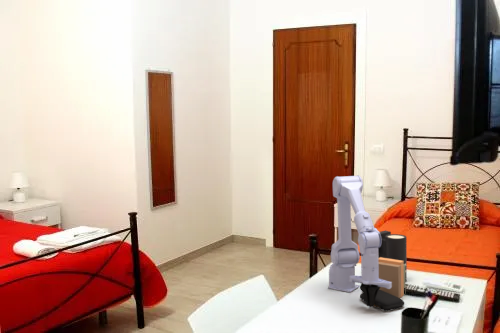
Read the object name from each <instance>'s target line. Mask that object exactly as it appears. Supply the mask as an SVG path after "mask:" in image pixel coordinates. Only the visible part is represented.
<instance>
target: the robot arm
mask: <svg viewBox="0 0 500 333" xmlns="http://www.w3.org/2000/svg"><path fill="white" fill-rule="evenodd" d="M363 189H364V182H363V178H362V176H360V175H359V174H357V175H348V176H345V175H344V176H338V175H337V176H335V177H334V178H333V180H332V196H333V197H334V198H336V202H337V229H338V239H337V241H335V242H334V243H332V245H331V252H330V260H331V265H330V266H329V269H328V289H330V290H331V289H332V290H337V291H341V292H346V293H352V292H353V291H355V290H356V289H358V288H359V290H360V291H361V294H362V293H363V295H364V297H365V300H366V302H365V304H366V306H367V307H370V308H372V307H374V303H375V298H376V295H377V293H378V291H379V289H380V287H384V288H387V289H390V288H392V282H389V281H386V280H383V279H379V256H378V248H380V247H381V243H382V239H381V235H380V231H379V230H378V228H376V227H375V226H374V223H373V220H372V217H371V215H370V214H371V213H369V212H367V211H366V209H365V205H364V200H363V197H362V193H363ZM351 207H352V209H353V210H351ZM351 211H353V212H354V217H353V221H354V224H355V227H356V230H357V233H358V236H357V243H358V244H357V243H356V242H355V241H353V240H352V213H351ZM359 262H361V263H360V264H361V266H360V269H361V271H360V273H361V275H356V272H355V271H356V268H355V267H356V266H357V264H359ZM356 283H357V284H356ZM359 284H360V285H359Z"/></svg>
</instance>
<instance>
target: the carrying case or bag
mask: <svg viewBox="0 0 500 333" xmlns="http://www.w3.org/2000/svg"><path fill="white" fill-rule="evenodd" d="M359 297H360V300H362V301H363V302H365V303H366V300H365V297H364V295H363V293H362V292H361V294H360V295H359ZM404 305H405V301H404V300H403V299H402V298H398V297H396V296H394V295H392V294H389V293H387V292H384V291H382V290H379V291H378V293H377V295H376V298H375V303H374V306H373V307H374V308H377V309H379V310H381V311H385V312H389V311H393V310H396V309H397V310H398V309H400V308H403V306H404Z"/></svg>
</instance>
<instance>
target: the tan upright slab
mask: <svg viewBox="0 0 500 333" xmlns="http://www.w3.org/2000/svg"><path fill="white" fill-rule="evenodd" d="M379 279H383V280H386V281H389V282H392V288H390V289H387V288H384V287H380V289H379V290H382V291H384V292H387V293H389V294H392V295H394V296H396V297H398V298H400V299H402V298H403V297H404V295H405V294H404V288H405V289H406V282H405V264H404V261H402V260H395V259H388V258H381V257H380V258H379Z"/></svg>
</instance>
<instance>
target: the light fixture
mask: <svg viewBox="0 0 500 333" xmlns="http://www.w3.org/2000/svg"><path fill="white" fill-rule="evenodd" d="M379 232H380V235H381V239H382V243H381V247H380V248H378V256H379V258H380V257H381V258H388V259H395V260H402V261H404V264H405V283H406V282H407V280H408V278H407V275H408V274H407V272H408V271H407V270H408V269H407V268H408V267H407V262H408V261H407V255H408V253H407V236H406V235H404V234H399V233H392V232H391V231H390V230H387V229H385V230H381V231H379Z"/></svg>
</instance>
